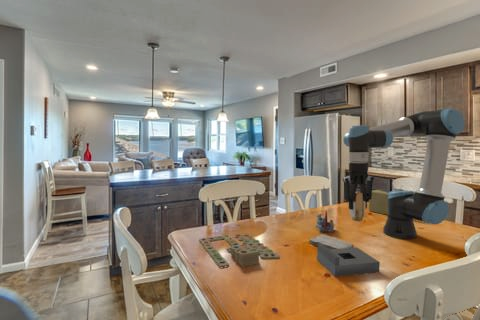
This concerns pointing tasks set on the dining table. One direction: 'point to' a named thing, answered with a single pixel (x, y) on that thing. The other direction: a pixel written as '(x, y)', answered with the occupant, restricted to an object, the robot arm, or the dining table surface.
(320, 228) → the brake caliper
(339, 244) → the washcloth
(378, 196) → the cheese
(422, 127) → the robot arm
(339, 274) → the jig
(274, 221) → the dining table surface
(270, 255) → the pile of dominoes
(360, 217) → the tan cylinder
